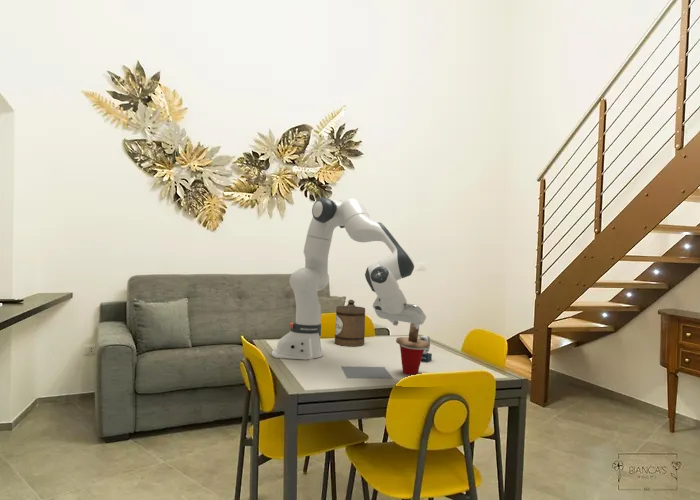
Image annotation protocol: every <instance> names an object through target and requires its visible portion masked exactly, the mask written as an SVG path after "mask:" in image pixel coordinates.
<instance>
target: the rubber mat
mask: <svg viewBox="0 0 700 500" xmlns="http://www.w3.org/2000/svg"><path fill="white" fill-rule="evenodd" d="M341 369H342V371H343V373H344V375H345V378H346V379H368V380H369V379H372V380H375V379H377V380H378V379H380V380H385V379H386V380H389V379H390V380H394V377H393V376H392V375H391V374H390V372H389V371H388V370H387V368H386V367H385V366H351V365H350V366H343V365H342V366H341Z"/></svg>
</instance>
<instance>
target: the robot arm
mask: <svg viewBox="0 0 700 500" xmlns="http://www.w3.org/2000/svg"><path fill="white" fill-rule="evenodd" d="M311 209H312V210H311V214H312V218H311V221H310V223H309V226H308V230H307V233H306V238H305V242H304V246H303V255H304V259H305V264H304V267H302V268H299V269H297V270H295V271H294V272H292V274H291V275H290V277H289V286H290V288H291V289H292V290H293V294H294V299H295V322H290V323H289V327H290V331H289V332H287V333H286V334H284V335H283V336H282V337H280V338H279V340H278V342H277V345H276V348H274V349H273V350H272V351H271V356H272V357H273V358H276V359H292V360H293V359H294V360H306V361H307V360H308V361H309V360H312V359H317V358H320V357H323V355H324V354H323V351H322V345H321V335H322V323H321V321H322V318H321V317H322V305H321V303H320V301H319V295H318V292H320V291H322V290H323V289H325V288H326V287H327V286H328V284H329V282H330V275H329V273H328V272H329V270H328V269H329V267H328V265H329V264H328V263H329V260H328V259H329V255H330V249H331V243H332V239H333V234H334V230H335V229H336V228H337V227H339V228H340V229H345V231H346V233H347V235H348V237H349V238H350V239H352V240H353V241H355V242H356V243H357V242H358V243H370V242H382V243H384V244H385V245H386V246H387V247H388V249H389V250H390V252H391V253H392V254H390V255H389V256H386V257H385V258H382V259H380V260H378V261H376V262H374V263H372V264H370V265H368V266H367V268H366V269H365V272H364V276H365V280H366V282H367V284H368V285H369V287H370V290H371V291H372V292H374V293H375V294H376V298H375V299H374V302H373V303H372V308H373V310H374V312H375V314H376V316H377V317H378V318H380V319H383V320H388V321H389V322H390V323H392V325H393V326H398V324H399V322H403V323H408V324H410V323H414V325H413V327H414V329H418V328H419V329H420V325H423V324H424V323H425V320H426V319H427V316H426V313H425V312H424V310H423V309H422V308H421V307H420V306H419V305H417V304H412V303H411V304H410V303H408V301H407V299H406V297H405V295H404V292H403V291H402V290H401V289H400V285H399V283H398V281H399V280H401V279H404V278H407V277H408V278H409V276H411V275H412V273H413V271H414V269H415V263H414V261H413V259H412V257H411V256H410V254H408V253H407V252H406V250H404V248H403V247H402V246H401V245H400V244H399V243H398V241H397V239H395V237H394V236H393V234H392V233H391V232H390V231H389V230H388V229H387V227H386V226H385V224H383V223H382V222H379V221H378V222H376V221H375V220H374V219H372V217H370V214H369V213H368V211H367V209H366V208H365V206H364V205H363V203H362V202H361V201H360V200H359V199H356V198H352V197H351V198H348V199H345V200H342V199H335V198H327V197H321V198H318V199H316V200H315V202H314V203H313V205H312V208H311ZM419 324H420V325H419Z"/></svg>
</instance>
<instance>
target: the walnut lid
mask: <svg viewBox="0 0 700 500" xmlns="http://www.w3.org/2000/svg"><path fill="white" fill-rule="evenodd" d="M413 325H414V323H409V333H408V337H405V336H404V337H399V336H398V337H396V338H395V339H396V340H395V341H396V342H395V343H396V344H398V345H399V344H400V345H403V346H407V347H412V348H428V347H429V343H428V342H426V341H423V340H420V339H419V332H420V327H419V328H418V329H414V327H413ZM420 325H421V324H419V326H420ZM400 345H399V346H400Z"/></svg>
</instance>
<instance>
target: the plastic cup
mask: <svg viewBox="0 0 700 500" xmlns="http://www.w3.org/2000/svg"><path fill="white" fill-rule="evenodd" d="M398 345H399V350H400V357H401V358H400V359H401V365H402V366H401V369H402V373H403V374H404V375H408V376H409V375H411V376H413V375H412V374H416V375H418V374H419V370H420V366H421V362H422V361H421V359H422V354H423V352H424V350H425V348H412V347H407V346H403V345H400V344H398Z"/></svg>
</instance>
